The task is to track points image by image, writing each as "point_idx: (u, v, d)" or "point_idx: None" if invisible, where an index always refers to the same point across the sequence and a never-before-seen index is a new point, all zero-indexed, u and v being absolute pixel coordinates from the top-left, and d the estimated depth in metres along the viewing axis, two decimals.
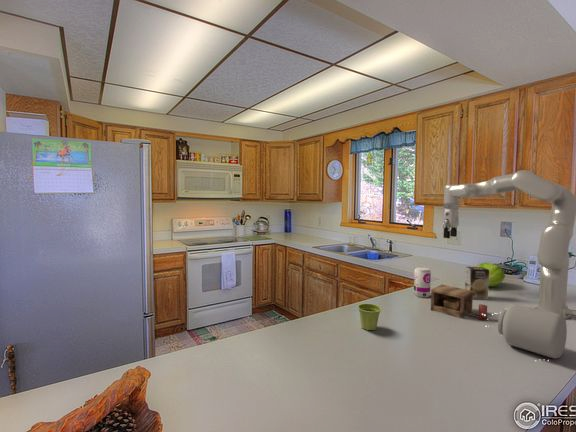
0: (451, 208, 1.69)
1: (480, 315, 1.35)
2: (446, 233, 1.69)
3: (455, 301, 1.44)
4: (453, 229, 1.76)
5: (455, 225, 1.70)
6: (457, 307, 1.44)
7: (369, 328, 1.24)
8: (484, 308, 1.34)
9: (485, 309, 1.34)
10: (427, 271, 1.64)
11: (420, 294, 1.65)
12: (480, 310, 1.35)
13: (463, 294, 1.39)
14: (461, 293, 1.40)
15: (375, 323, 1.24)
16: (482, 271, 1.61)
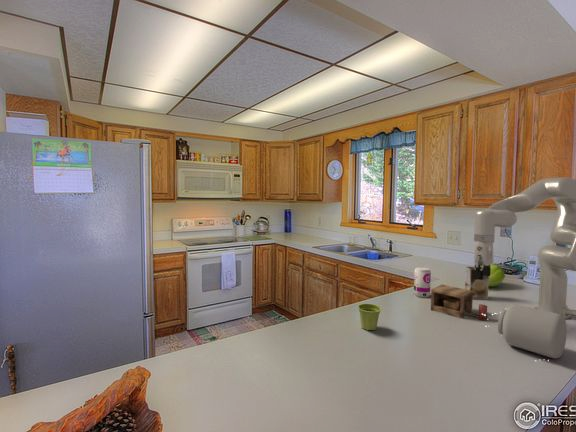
0: (485, 241, 1.31)
1: (480, 315, 1.35)
2: (478, 273, 1.31)
3: (455, 301, 1.44)
4: (486, 266, 1.38)
5: (490, 263, 1.32)
6: (457, 307, 1.44)
7: (369, 328, 1.24)
8: (484, 308, 1.34)
9: (485, 309, 1.34)
10: (427, 271, 1.64)
11: (420, 294, 1.65)
12: (480, 310, 1.35)
13: (463, 294, 1.39)
14: (461, 293, 1.40)
15: (375, 323, 1.24)
16: None
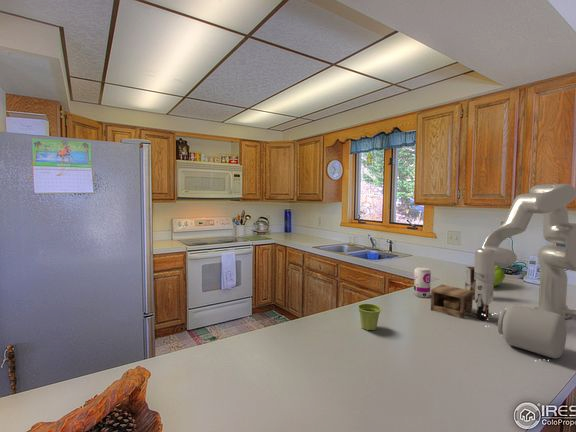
0: (485, 280, 1.32)
1: None
2: (481, 313, 1.34)
3: (455, 301, 1.44)
4: None
5: (490, 301, 1.33)
6: (457, 307, 1.44)
7: (369, 328, 1.24)
8: None
9: (485, 309, 1.34)
10: (427, 271, 1.64)
11: (420, 294, 1.65)
12: None
13: (463, 294, 1.39)
14: (461, 293, 1.40)
15: (375, 323, 1.24)
16: None
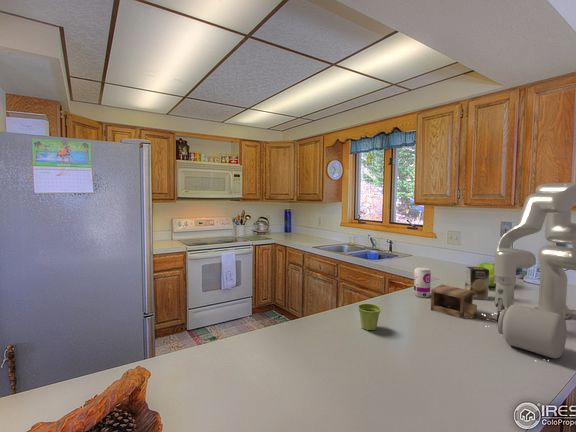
0: (506, 284, 1.26)
1: None
2: None
3: (473, 305, 1.39)
4: None
5: None
6: (475, 311, 1.39)
7: (369, 328, 1.24)
8: None
9: None
10: (427, 271, 1.64)
11: (420, 294, 1.65)
12: None
13: (463, 294, 1.39)
14: (461, 293, 1.40)
15: (375, 323, 1.24)
16: (482, 271, 1.61)
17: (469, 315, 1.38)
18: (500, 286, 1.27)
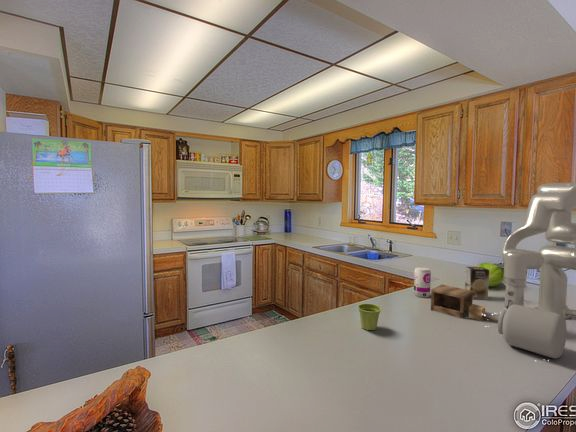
0: (516, 286, 1.23)
1: None
2: None
3: (481, 307, 1.36)
4: None
5: None
6: (483, 314, 1.36)
7: (369, 328, 1.24)
8: None
9: None
10: (427, 271, 1.64)
11: (420, 294, 1.65)
12: None
13: (463, 294, 1.39)
14: (461, 293, 1.40)
15: (375, 323, 1.24)
16: (482, 271, 1.61)
17: (477, 317, 1.35)
18: (510, 288, 1.24)
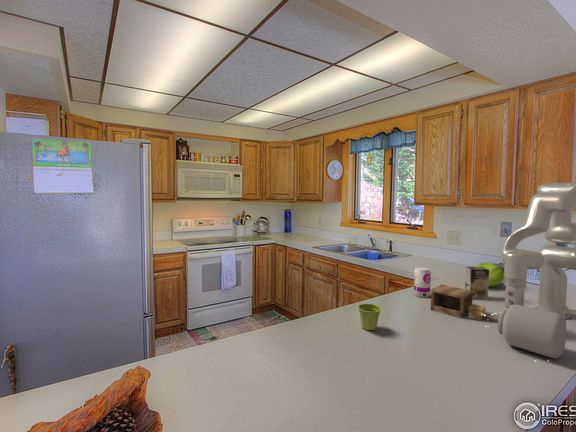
0: (516, 286, 1.23)
1: None
2: None
3: (481, 307, 1.36)
4: None
5: None
6: (483, 314, 1.36)
7: (369, 328, 1.24)
8: None
9: None
10: (427, 271, 1.64)
11: (420, 294, 1.65)
12: None
13: (463, 294, 1.39)
14: (461, 293, 1.40)
15: (375, 323, 1.24)
16: (482, 271, 1.61)
17: (478, 317, 1.35)
18: (510, 288, 1.24)
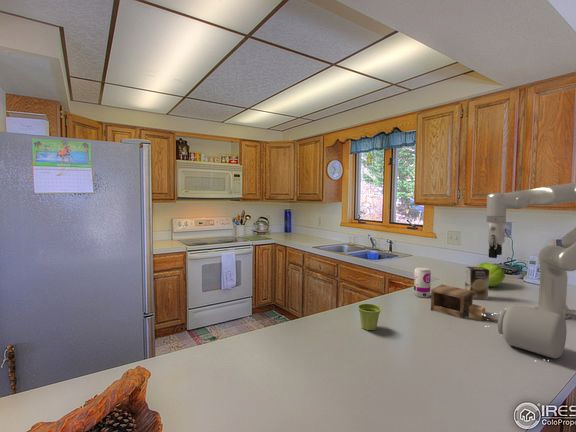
0: (498, 222, 1.40)
1: None
2: (492, 252, 1.40)
3: (481, 307, 1.36)
4: (497, 246, 1.47)
5: (502, 242, 1.41)
6: (483, 314, 1.36)
7: (369, 328, 1.24)
8: None
9: None
10: (427, 271, 1.64)
11: (420, 294, 1.65)
12: None
13: (463, 294, 1.39)
14: (461, 293, 1.40)
15: (375, 323, 1.24)
16: (482, 271, 1.61)
17: (478, 317, 1.35)
18: (492, 224, 1.40)
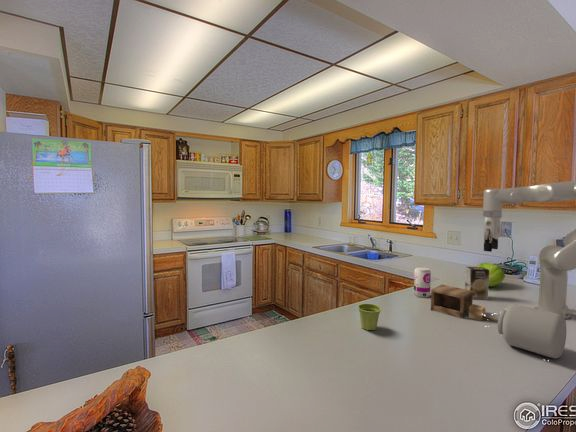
0: (493, 216, 1.44)
1: None
2: (487, 246, 1.44)
3: (481, 307, 1.36)
4: (493, 240, 1.51)
5: (497, 236, 1.45)
6: (483, 314, 1.36)
7: (369, 328, 1.24)
8: None
9: None
10: (427, 271, 1.64)
11: (420, 294, 1.65)
12: None
13: (463, 294, 1.39)
14: (461, 293, 1.40)
15: (375, 323, 1.24)
16: (482, 271, 1.61)
17: (478, 317, 1.35)
18: (488, 219, 1.45)
